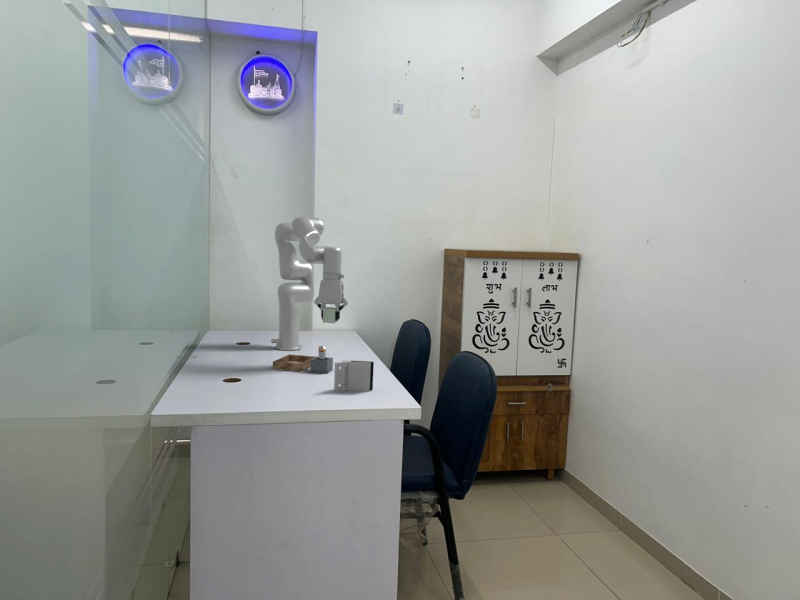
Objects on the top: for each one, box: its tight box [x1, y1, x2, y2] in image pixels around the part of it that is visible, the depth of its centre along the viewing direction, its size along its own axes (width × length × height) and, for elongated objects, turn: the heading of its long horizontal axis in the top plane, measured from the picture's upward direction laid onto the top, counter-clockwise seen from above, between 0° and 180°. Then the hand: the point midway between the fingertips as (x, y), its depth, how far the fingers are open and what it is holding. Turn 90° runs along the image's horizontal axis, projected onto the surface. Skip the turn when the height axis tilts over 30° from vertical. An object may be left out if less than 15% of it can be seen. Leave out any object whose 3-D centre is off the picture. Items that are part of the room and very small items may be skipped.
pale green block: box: [322, 306, 339, 324], centre depth 237 cm, size 5×5×6 cm
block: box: [309, 356, 334, 374], centre depth 226 cm, size 7×7×5 cm
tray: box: [272, 354, 316, 372], centre depth 233 cm, size 13×17×3 cm
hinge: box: [333, 359, 375, 392], centre depth 200 cm, size 14×5×10 cm, turn 101°
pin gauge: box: [317, 345, 327, 360], centre depth 226 cm, size 3×3×10 cm
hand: (330, 319), depth 237 cm, fingers closed on pale green block, 5 cm apart
